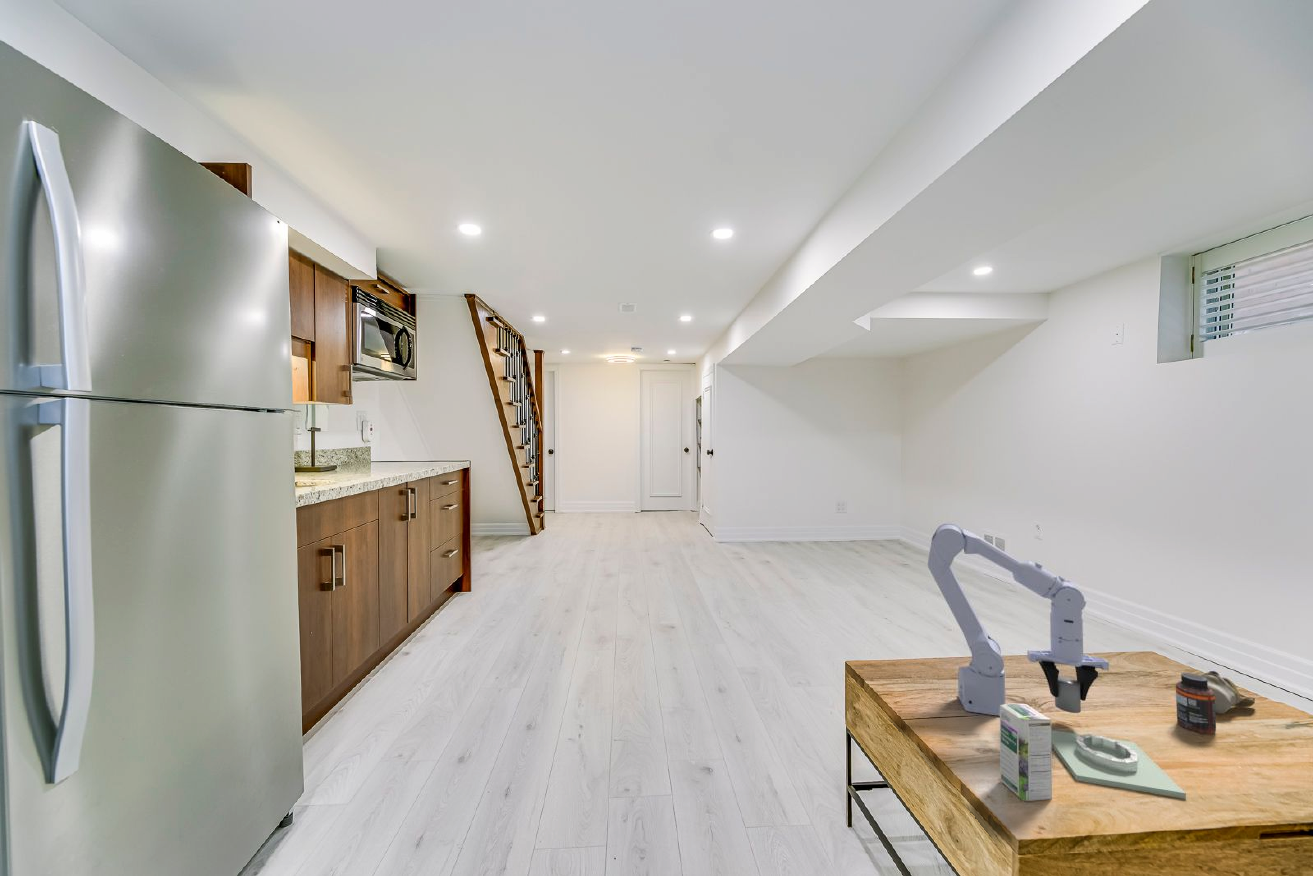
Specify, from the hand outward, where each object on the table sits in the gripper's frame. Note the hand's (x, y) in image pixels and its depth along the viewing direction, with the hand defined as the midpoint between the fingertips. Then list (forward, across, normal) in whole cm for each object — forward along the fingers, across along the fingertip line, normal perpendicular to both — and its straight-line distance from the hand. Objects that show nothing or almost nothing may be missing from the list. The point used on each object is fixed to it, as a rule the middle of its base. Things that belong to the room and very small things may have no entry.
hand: (1067, 696), depth 113 cm
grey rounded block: (+2, 0, 0) cm, 2 cm away
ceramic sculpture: (+6, +37, +20) cm, 42 cm away
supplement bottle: (+6, +26, +7) cm, 28 cm away
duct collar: (+6, +1, -14) cm, 15 cm away
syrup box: (+6, -17, -28) cm, 33 cm away
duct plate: (+6, +1, -14) cm, 15 cm away
